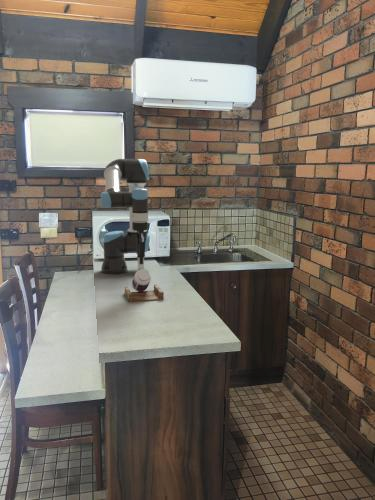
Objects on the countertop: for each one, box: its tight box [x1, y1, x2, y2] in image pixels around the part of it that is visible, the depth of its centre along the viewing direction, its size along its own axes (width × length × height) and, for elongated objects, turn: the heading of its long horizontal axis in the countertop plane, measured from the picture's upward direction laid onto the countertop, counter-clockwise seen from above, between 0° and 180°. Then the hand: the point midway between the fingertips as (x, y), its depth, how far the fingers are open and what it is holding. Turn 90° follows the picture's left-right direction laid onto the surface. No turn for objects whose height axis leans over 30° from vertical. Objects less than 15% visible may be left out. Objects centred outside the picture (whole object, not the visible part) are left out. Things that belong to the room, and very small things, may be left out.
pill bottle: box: [131, 268, 152, 292], centre depth 204 cm, size 8×8×14 cm
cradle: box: [124, 284, 165, 303], centre depth 202 cm, size 14×16×4 cm
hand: (141, 270), depth 205 cm, fingers closed
